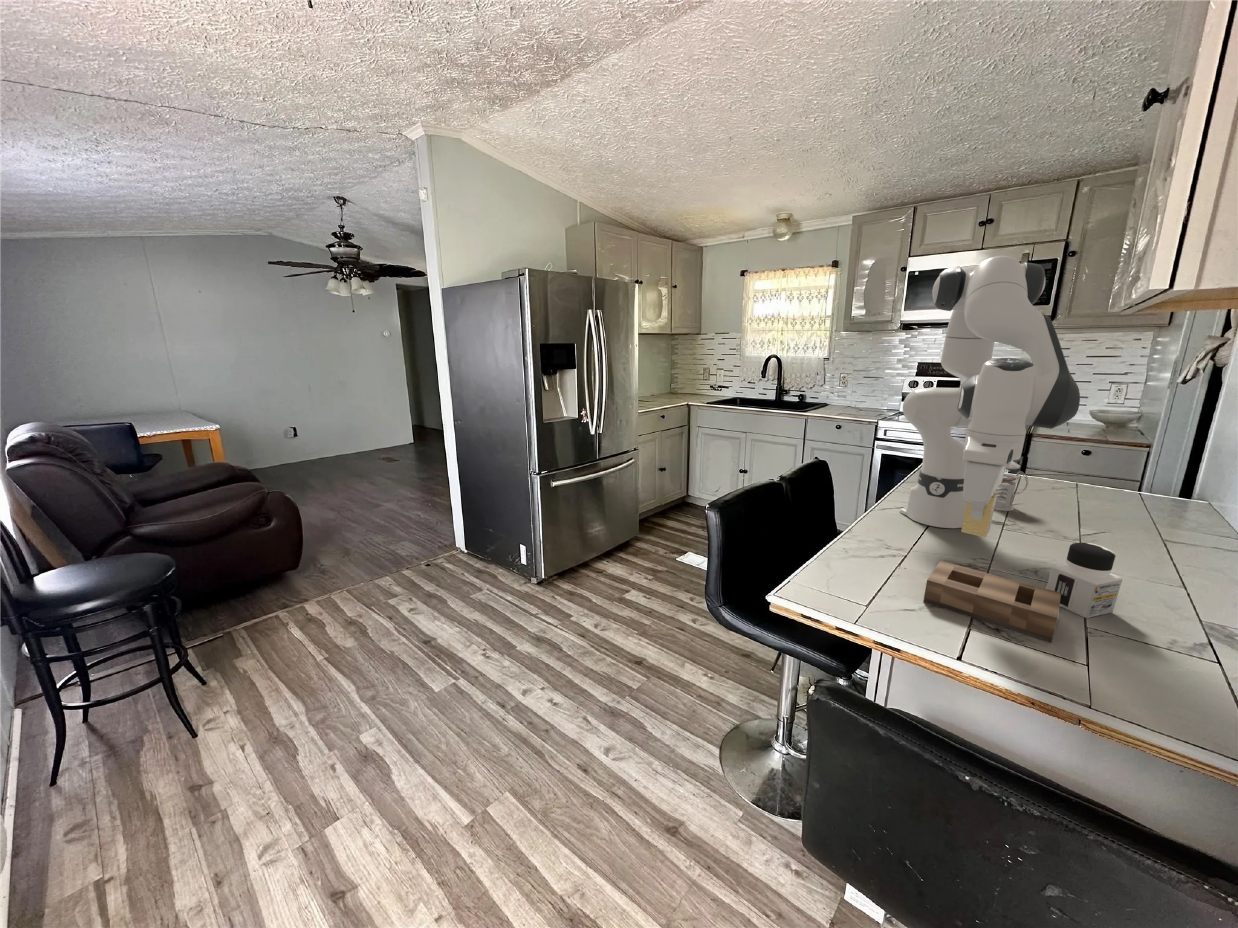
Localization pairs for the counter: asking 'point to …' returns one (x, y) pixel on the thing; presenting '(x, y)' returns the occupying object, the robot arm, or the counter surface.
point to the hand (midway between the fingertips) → (978, 514)
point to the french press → (1008, 490)
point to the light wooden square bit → (981, 525)
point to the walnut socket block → (994, 600)
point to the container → (1086, 580)
